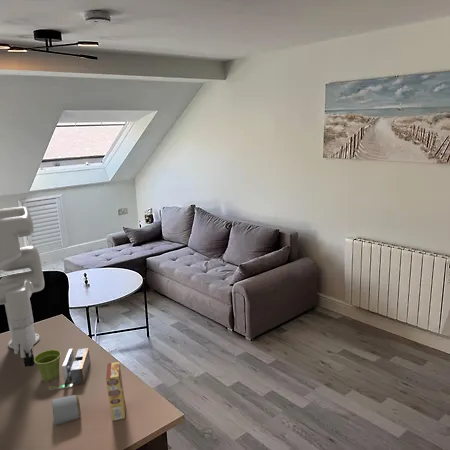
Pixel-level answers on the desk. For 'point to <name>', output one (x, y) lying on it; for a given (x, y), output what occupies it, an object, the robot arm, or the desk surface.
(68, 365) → the grey flat bar
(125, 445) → the desk surface
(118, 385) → the candy box
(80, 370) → the grey slotted box
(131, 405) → the desk surface
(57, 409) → the ceramic mug
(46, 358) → the plant pot
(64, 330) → the desk surface
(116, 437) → the desk surface
